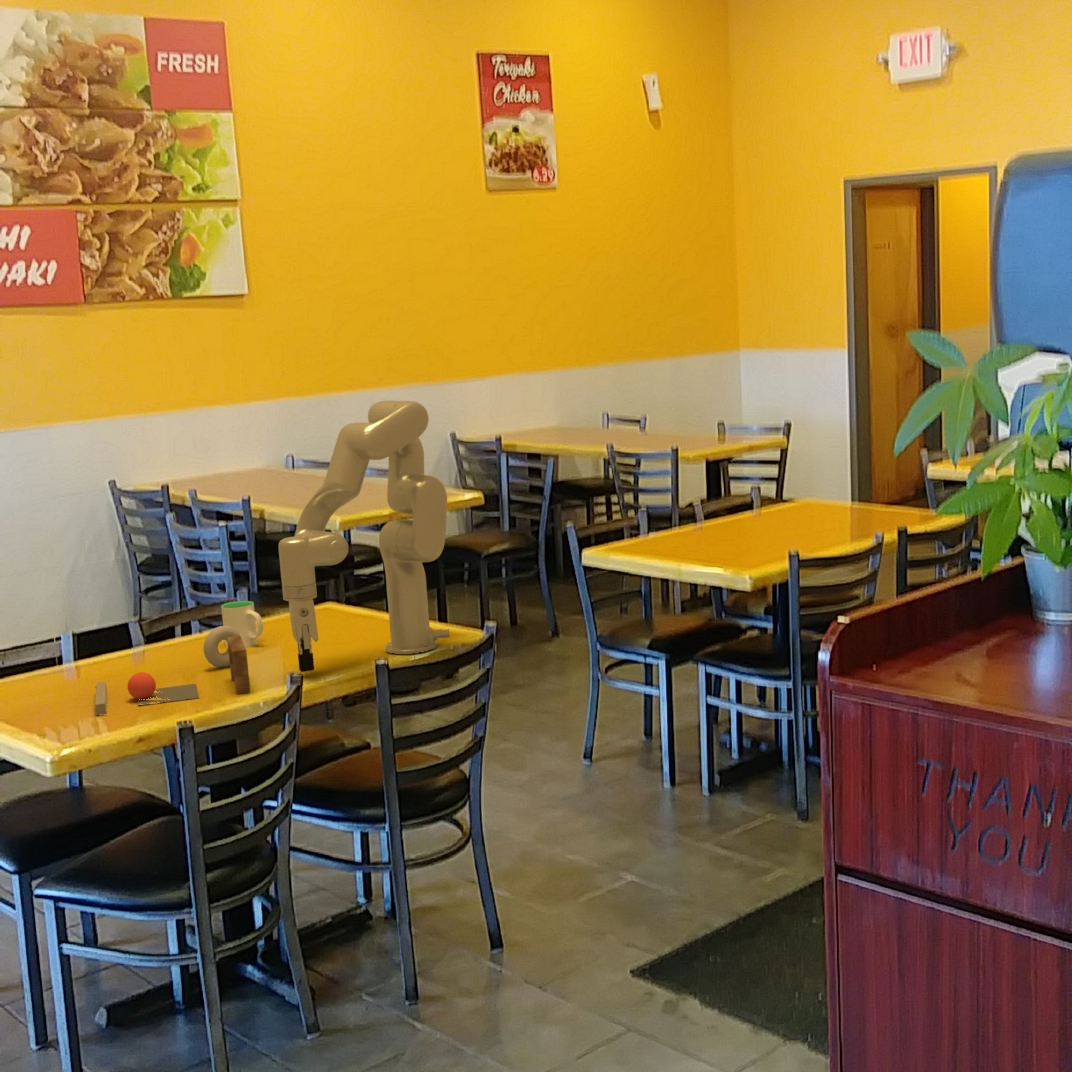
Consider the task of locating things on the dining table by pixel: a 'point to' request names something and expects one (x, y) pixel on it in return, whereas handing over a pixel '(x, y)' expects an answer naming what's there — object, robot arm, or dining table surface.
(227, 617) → the mug
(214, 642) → the donut
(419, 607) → the robot arm
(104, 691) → the stopper wall
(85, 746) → the dining table surface
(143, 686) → the ball
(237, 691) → the bridge
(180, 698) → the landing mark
